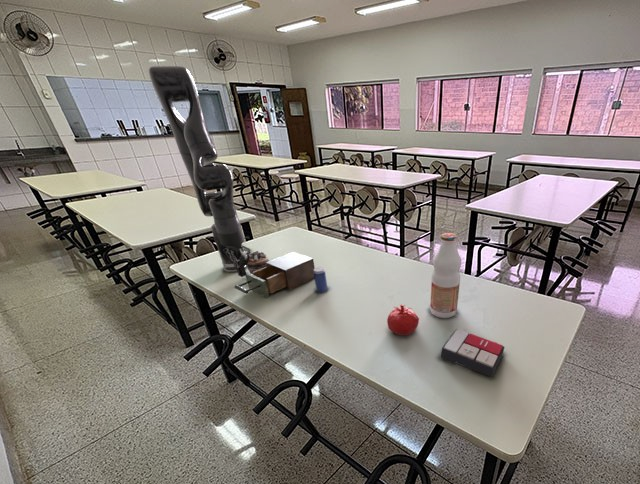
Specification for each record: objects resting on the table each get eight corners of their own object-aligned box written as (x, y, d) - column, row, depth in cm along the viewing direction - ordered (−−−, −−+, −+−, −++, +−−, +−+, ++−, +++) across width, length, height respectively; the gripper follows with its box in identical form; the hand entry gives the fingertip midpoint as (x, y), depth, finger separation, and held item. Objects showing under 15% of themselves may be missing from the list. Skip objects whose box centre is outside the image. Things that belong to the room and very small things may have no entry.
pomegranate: (408, 342, 97) (408, 317, 92) (381, 332, 102) (380, 308, 97) (423, 326, 104) (424, 302, 99) (398, 317, 109) (397, 294, 104)
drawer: (251, 305, 115) (246, 288, 111) (234, 295, 120) (229, 279, 117) (294, 284, 128) (291, 269, 124) (276, 277, 134) (273, 262, 130)
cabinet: (289, 290, 126) (285, 270, 121) (270, 281, 132) (265, 262, 128) (316, 277, 135) (313, 258, 131) (296, 269, 142) (293, 251, 137)
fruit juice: (439, 321, 107) (444, 242, 92) (425, 307, 114) (428, 232, 100) (462, 314, 110) (471, 237, 96) (447, 301, 118) (453, 228, 103)
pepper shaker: (314, 288, 127) (311, 268, 122) (325, 286, 129) (322, 265, 124) (318, 293, 124) (315, 272, 119) (329, 290, 126) (326, 269, 121)
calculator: (494, 367, 82) (441, 346, 89) (491, 379, 85) (440, 357, 91) (505, 344, 90) (456, 326, 97) (502, 355, 93) (454, 337, 99)
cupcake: (244, 277, 136) (238, 255, 130) (260, 268, 143) (255, 247, 138) (262, 281, 133) (256, 259, 127) (277, 271, 140) (273, 250, 135)
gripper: (250, 230, 105) (262, 276, 114) (229, 222, 112) (242, 267, 121) (229, 236, 100) (243, 284, 109) (207, 228, 106) (223, 274, 115)
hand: (242, 275), depth 115 cm, fingers closed
